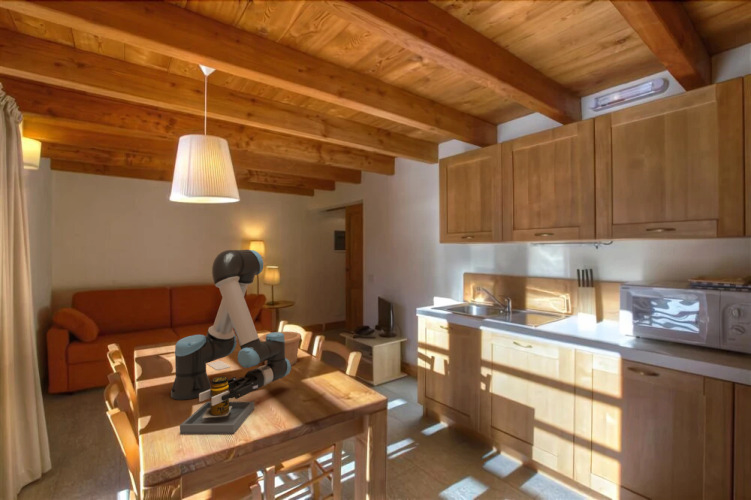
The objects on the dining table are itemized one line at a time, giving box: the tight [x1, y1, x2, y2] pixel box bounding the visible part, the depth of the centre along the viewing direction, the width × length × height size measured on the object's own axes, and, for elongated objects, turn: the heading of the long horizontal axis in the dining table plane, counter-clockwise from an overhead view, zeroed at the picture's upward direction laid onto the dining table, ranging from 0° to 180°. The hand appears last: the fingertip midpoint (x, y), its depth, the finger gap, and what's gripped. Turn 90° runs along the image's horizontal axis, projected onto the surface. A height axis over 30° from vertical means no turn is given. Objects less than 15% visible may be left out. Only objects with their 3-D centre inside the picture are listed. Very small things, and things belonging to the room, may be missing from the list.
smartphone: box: [206, 360, 231, 371], centre depth 187 cm, size 7×1×15 cm
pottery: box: [258, 331, 302, 366], centre depth 189 cm, size 22×22×14 cm
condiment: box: [202, 376, 232, 418], centre depth 126 cm, size 7×8×12 cm
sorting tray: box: [179, 400, 255, 435], centre depth 126 cm, size 18×18×3 cm
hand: (206, 399), depth 121 cm, fingers closed on condiment, 6 cm apart
